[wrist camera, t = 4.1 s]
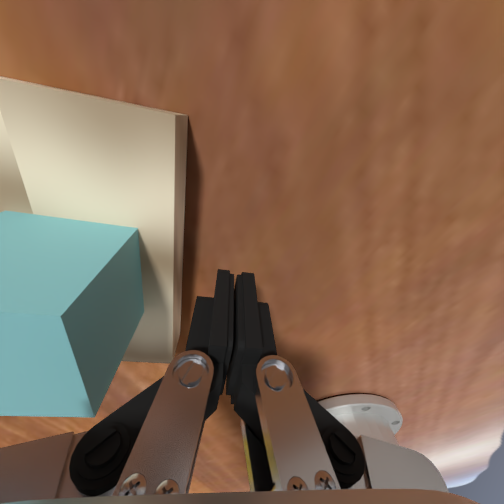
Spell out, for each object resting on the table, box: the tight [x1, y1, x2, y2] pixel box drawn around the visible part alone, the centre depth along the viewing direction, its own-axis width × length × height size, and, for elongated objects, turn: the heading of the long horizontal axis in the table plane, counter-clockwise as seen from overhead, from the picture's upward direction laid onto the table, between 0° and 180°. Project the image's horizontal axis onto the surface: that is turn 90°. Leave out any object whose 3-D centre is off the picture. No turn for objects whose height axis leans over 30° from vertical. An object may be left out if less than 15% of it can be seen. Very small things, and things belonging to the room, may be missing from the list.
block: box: [0, 210, 144, 417], centre depth 8 cm, size 5×5×5 cm
